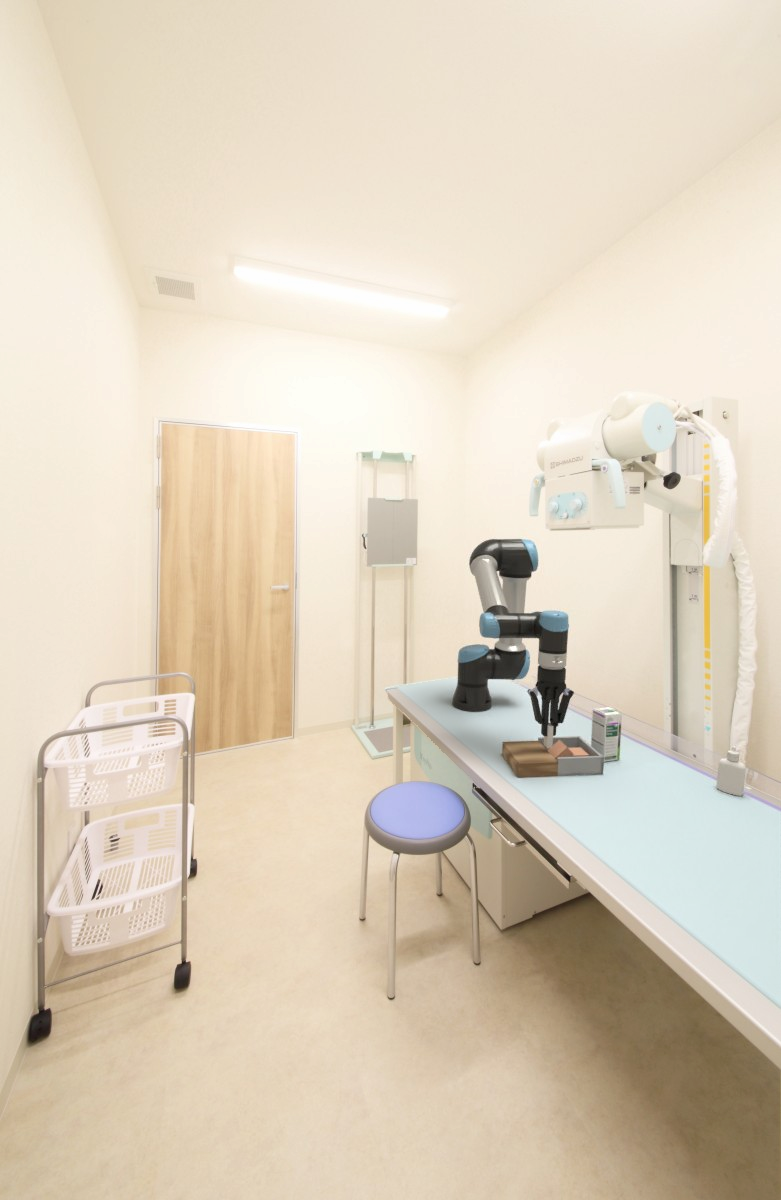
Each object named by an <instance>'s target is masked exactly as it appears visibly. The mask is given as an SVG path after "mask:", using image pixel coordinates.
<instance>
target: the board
mask: <svg viewBox="0 0 781 1200" xmlns="http://www.w3.org/2000/svg"><path fill="white" fill-rule="evenodd" d="M501 745H502V749H501V755H502V757H503V758H504V759H505V761H506V762H507V764H508V765H509V766H510V768H511V769H512V771H513V772H514V773H515V775H516V776H517V777H518V779H519V778H539V777H540V778H541V777H559V776H558V761H557V760H556V759H555V758H554V757H553V756H552V755H551V754H550V753H549V752H548V751H547V750H546V749H545V747H544V746H543V745H542V744H541V743H540V742H539V741H538V740H516V741H515V740H513V741H510V740H509V741H502V744H501Z"/></svg>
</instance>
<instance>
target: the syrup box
mask: <svg viewBox="0 0 781 1200" xmlns="http://www.w3.org/2000/svg"><path fill="white" fill-rule="evenodd" d="M591 714H592V718H591V719H592V721H591V741H590V745H591V746H592V747H593V748H594V749H595V750H596V751H598V752H599V753H600V754H601V755H602V756H604V763H606V762H612V761H620V756H621V755H620V753H621V735H622V722H623V721H622V717H623V715H622V714H623V713H622V712H620V711H619V710H617V709H615V708H612V707H609V706H606V707H600V708H592V713H591Z"/></svg>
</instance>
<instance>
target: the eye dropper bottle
mask: <svg viewBox="0 0 781 1200" xmlns="http://www.w3.org/2000/svg"><path fill="white" fill-rule="evenodd" d="M736 748H737V747H736V746H734V745H733V746H731V749H729V750H727V752H726V753H727V754H726V758H725V757H724V758H721V759H720V760H719V761H718V767H717V775H716V785H715V787H716V789H717V790H718V791H722V792H724V793H725V794H730V795H732V794H733V796H737V797H738V796H740V797H741V796H743V795H744V789H745V783H746V782H745V781H746V771H747V768H746V765H745V764H743V763H742V762H741V761H740V760H739V759H740V752H739V751H737V749H736Z"/></svg>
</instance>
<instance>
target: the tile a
mask: <svg viewBox="0 0 781 1200" xmlns="http://www.w3.org/2000/svg"><path fill="white" fill-rule="evenodd" d="M548 752H549V753H550V754H551V755H552V756H553V757H554V758H555V759H556V760H557V757H571V756H572V755H573V753H572V752H571V751H570V750H569V748H568V747H567V746H566V745H565V744H564V743H562V742H561V741H560V740H559V741H557V742H556V743H555V744H554V745H553V746H552V748H550V749H549V750H548Z"/></svg>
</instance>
